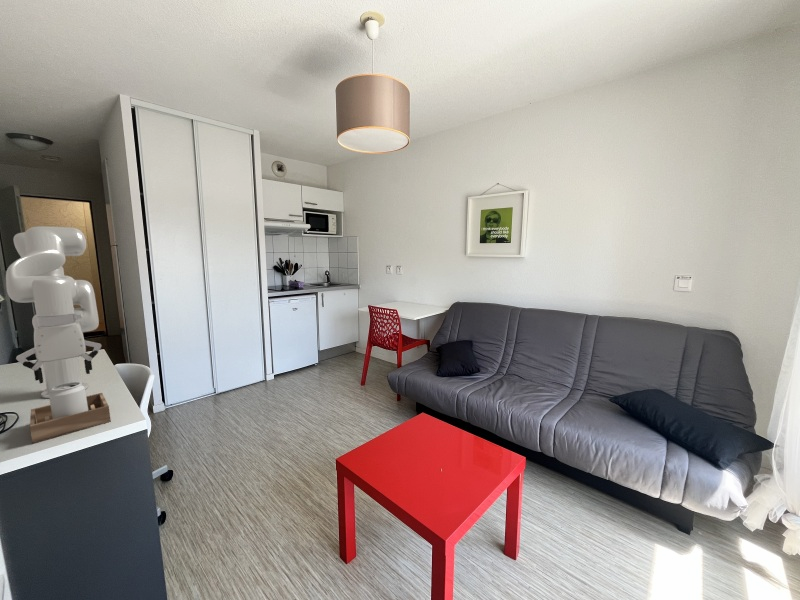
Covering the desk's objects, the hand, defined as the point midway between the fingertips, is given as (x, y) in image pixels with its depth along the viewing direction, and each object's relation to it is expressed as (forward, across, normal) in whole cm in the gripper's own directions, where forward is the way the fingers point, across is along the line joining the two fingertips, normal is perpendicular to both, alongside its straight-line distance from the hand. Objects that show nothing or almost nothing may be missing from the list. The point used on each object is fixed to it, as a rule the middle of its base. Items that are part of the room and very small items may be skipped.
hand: (65, 377), depth 96 cm
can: (+14, 0, +1) cm, 15 cm away
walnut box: (+15, 0, -1) cm, 15 cm away
